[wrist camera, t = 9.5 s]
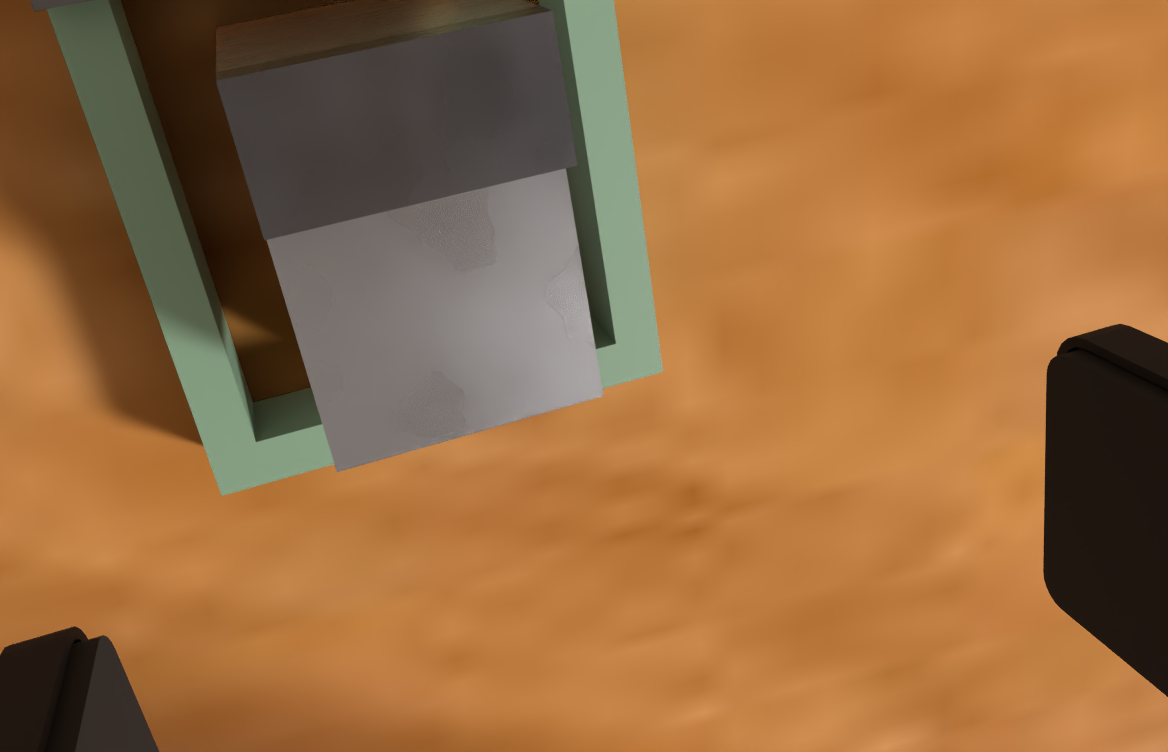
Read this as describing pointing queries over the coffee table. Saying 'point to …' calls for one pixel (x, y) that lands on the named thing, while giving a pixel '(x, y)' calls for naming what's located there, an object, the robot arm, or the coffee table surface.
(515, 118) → the chute block
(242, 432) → the frame
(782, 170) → the coffee table surface
